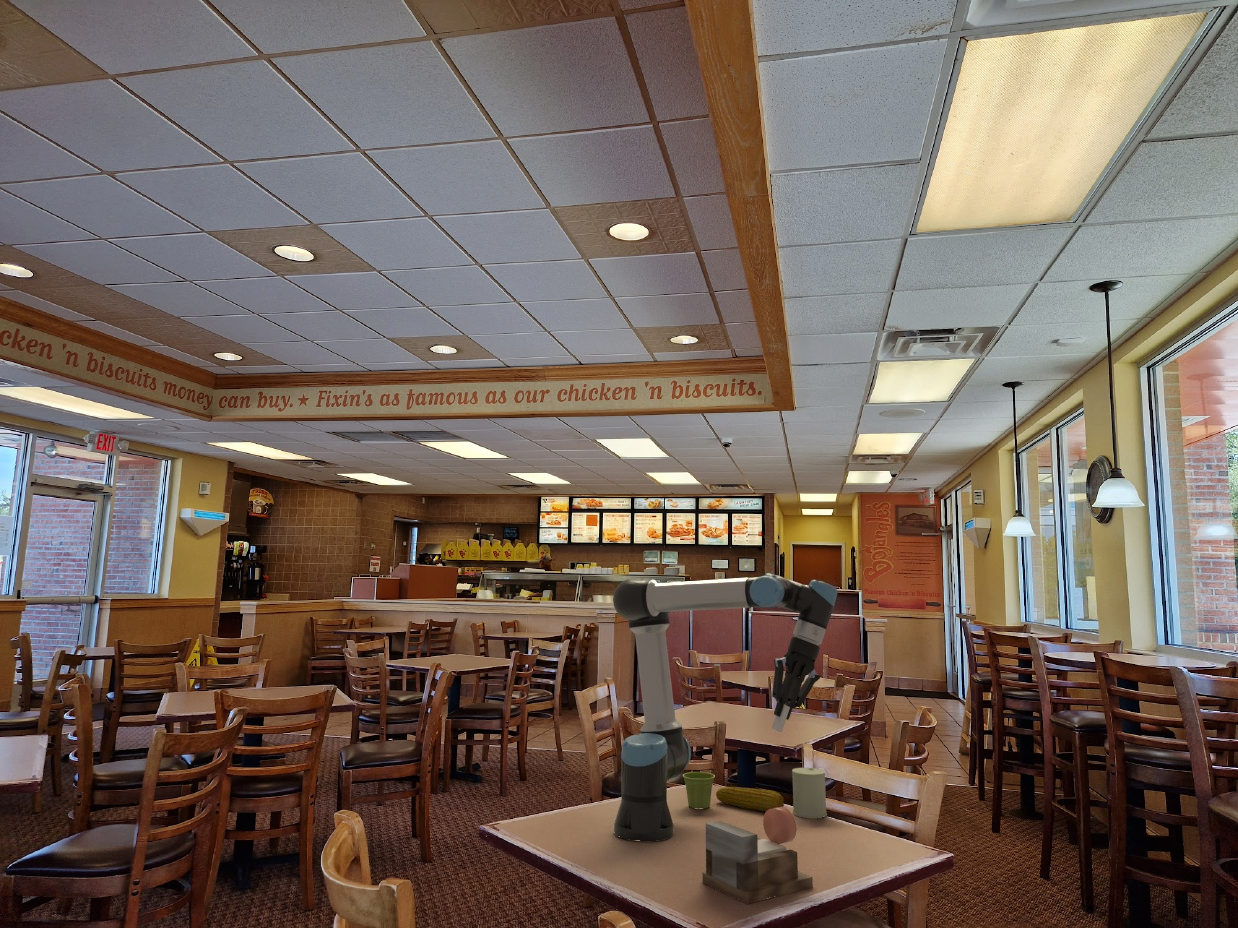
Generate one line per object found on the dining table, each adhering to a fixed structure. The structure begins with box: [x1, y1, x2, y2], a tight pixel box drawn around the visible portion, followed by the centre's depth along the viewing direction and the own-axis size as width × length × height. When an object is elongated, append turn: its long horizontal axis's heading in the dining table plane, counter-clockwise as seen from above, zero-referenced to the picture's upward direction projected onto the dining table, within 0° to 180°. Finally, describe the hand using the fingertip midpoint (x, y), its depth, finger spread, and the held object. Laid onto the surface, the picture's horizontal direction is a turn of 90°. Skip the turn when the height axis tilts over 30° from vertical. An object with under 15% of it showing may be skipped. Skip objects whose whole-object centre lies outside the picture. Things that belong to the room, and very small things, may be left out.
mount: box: [701, 820, 814, 905], centre depth 165 cm, size 18×14×12 cm
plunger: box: [758, 806, 798, 856], centre depth 167 cm, size 13×7×12 cm, turn 123°
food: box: [715, 786, 785, 813], centre depth 226 cm, size 21×6×6 cm, turn 54°
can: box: [791, 767, 828, 820], centre depth 221 cm, size 9×9×12 cm
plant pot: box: [682, 771, 716, 809], centre depth 227 cm, size 9×9×9 cm
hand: (776, 729), depth 198 cm, fingers closed
